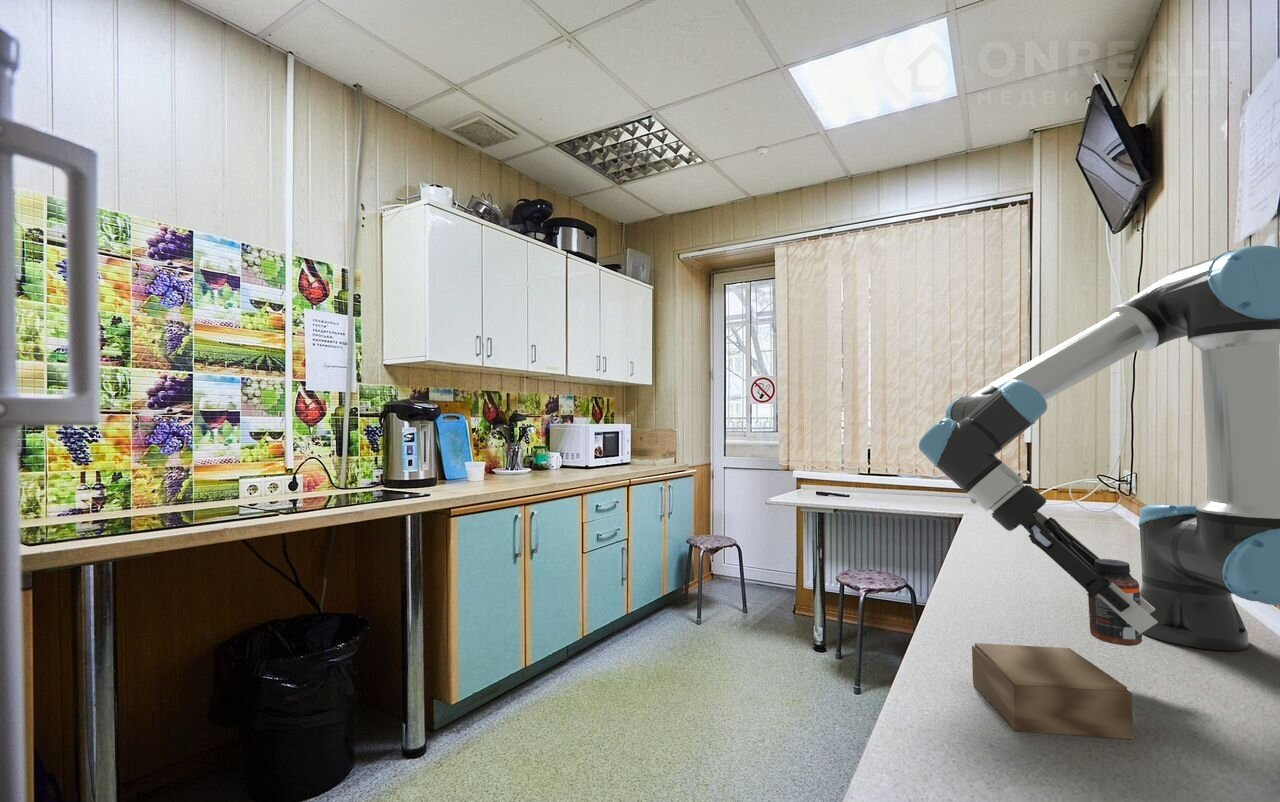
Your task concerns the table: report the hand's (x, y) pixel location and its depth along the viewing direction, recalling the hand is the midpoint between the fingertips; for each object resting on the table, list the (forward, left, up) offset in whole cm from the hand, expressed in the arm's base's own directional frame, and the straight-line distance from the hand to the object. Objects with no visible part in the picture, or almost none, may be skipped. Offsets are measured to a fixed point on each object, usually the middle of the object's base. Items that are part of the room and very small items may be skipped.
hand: (1147, 620), depth 83 cm
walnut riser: (+17, +8, -10) cm, 22 cm away
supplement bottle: (+3, -2, -4) cm, 5 cm away
